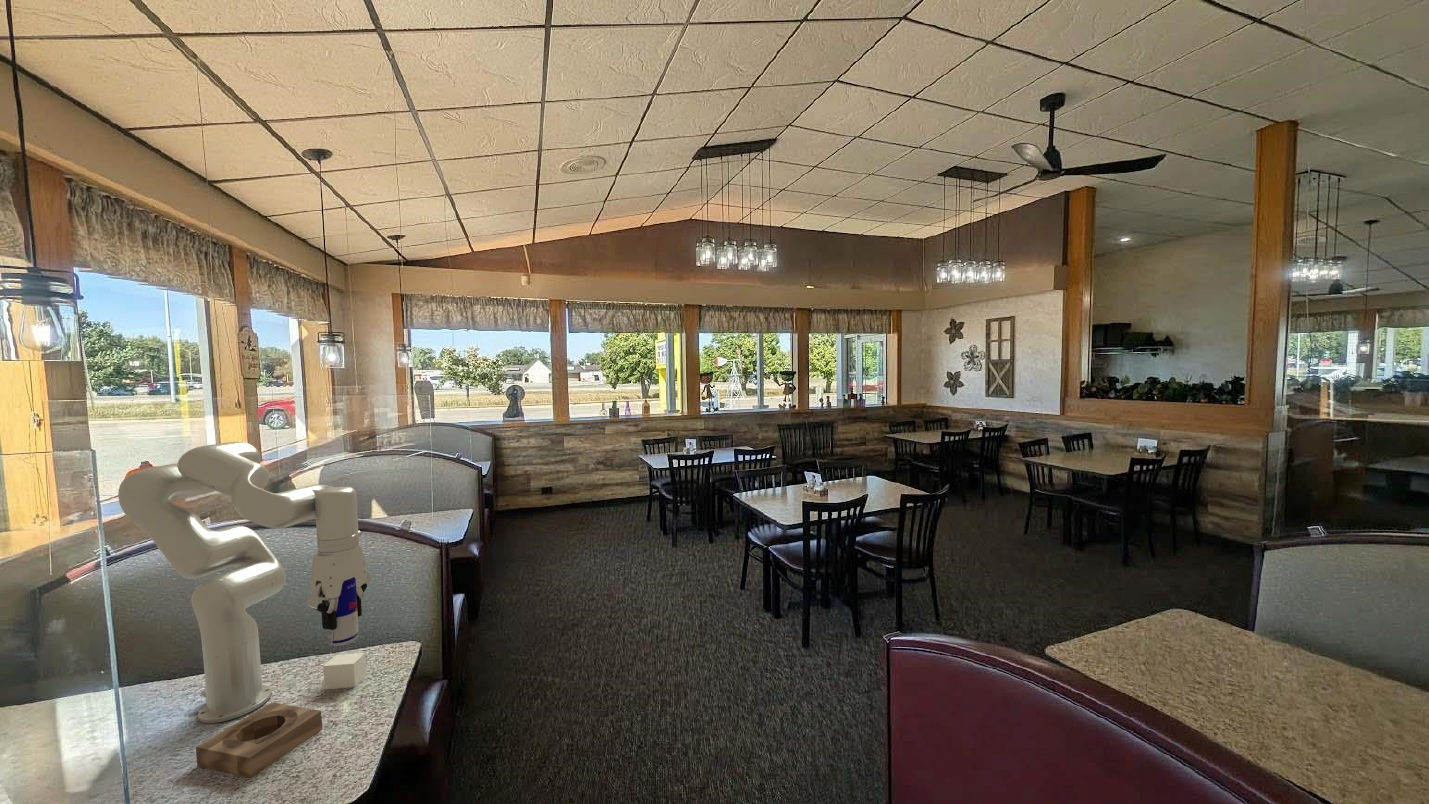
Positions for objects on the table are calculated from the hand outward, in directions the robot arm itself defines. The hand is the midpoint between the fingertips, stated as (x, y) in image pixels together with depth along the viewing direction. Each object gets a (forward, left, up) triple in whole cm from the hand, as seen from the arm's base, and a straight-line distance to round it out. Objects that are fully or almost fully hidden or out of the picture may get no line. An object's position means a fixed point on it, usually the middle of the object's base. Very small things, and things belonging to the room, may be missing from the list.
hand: (342, 621), depth 117 cm
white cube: (-11, +9, -21) cm, 26 cm away
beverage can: (0, 0, -5) cm, 5 cm away
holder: (-7, -13, -21) cm, 26 cm away
